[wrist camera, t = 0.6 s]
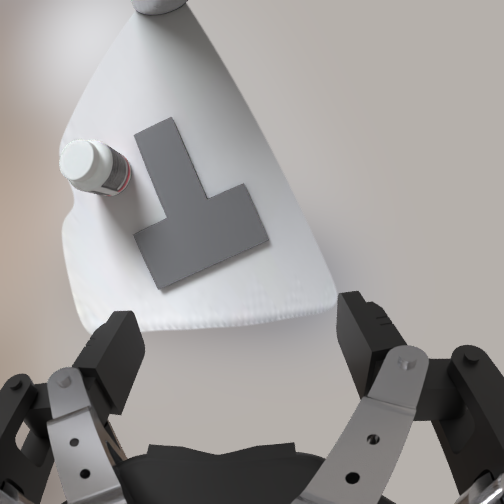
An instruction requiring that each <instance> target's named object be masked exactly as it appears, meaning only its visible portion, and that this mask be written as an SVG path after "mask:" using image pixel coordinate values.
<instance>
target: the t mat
mask: <svg viewBox="0 0 504 504" xmlns="http://www.w3.org/2000/svg"><path fill="white" fill-rule="evenodd" d="M134 137H135V140H136V142H137V145H138V148H139V150H140V153H141V155H142V158H143V161H144V163H145V166H146V168H147V171H148V173H149V176H150V178H151V181H152V183H153V185H154V188H155V190H156V193H157V195H158V198H159V200H160V202H161V205H162V207H163V209H164V212H165V214H166V216H167V218H166V219H164V220H162V221H160V222H158V223H156V224H154V225H152V226H150V227H148V228H146V229H144V230H142V231H140V232H138V233H136V234H134V237H135V240H136V242H137V244H138V247H139V249H140V251H141V254H142V256H143V258H144V260H145V262H146V265H147V267H148V269H149V271H150V273H151V275H152V278H153V280H154V282H155V284H156V286H157V288H158V290H159V289H161V288H163V287H165V286H168V285H170V284H172V283H174V282H176V281H179V280H181V279H183V278H185V277H187V276H190V275H192V274H194V273H196V272H199V271H201V270H203V269H205V268H207V267H210V266H212V265H214V264H216V263H219V262H221V261H223V260H225V259H227V258H230V257H232V256H234V255H236V254H239V253H241V252H243V251H245V250H248V249H250V248H252V247H254V246H256V245H259V244H261V243H263V242H265V241H268V240H269V239H268V237H267V234H266V232H265V230H264V227H263V225H262V223H261V221H260V218H259V216H258V214H257V212H256V209H255V207H254V205H253V203H252V200H251V198H250V196H249V194H248V191H247V189H246V187H245V185H244V183H243V184H241V185H239V186H236V187H234V188H232V189H230V190H227V191H225V192H223V193H220V194H218V195H216V196H214V197H211V198H209V199H207V197H206V195H205V193H204V191H203V188H202V186H201V184H200V181H199V179H198V177H197V174H196V172H195V170H194V168H193V165H192V163H191V161H190V158H189V156H188V154H187V151H186V149H185V147H184V144H183V142H182V140H181V137H180V135H179V133H178V130H177V128H176V126H175V123H174V121H173V119H172V117H170V118H168V119H166V120H164V121H162V122H160V123H157V124H155V125H153V126H151V127H149V128H147V129H145V130H143V131H141V132H139V133H137V134H135V135H134Z"/></svg>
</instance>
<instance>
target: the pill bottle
mask: <svg viewBox="0 0 504 504" xmlns="http://www.w3.org/2000/svg"><path fill="white" fill-rule="evenodd" d="M59 165H60V170H61V173H62V174H63V175H64V177H65V178H67V179H69V181H70V183H71V184H72V185H73V186H74V187H75V188H77V189H78V190H81V191H84V192H89V193H94V194H99V195H104V196H113V195H117V194H118V193H120V192H121V191H123V190H124V189H125V188H126V186H127V184H128V182H129V180H130V177H131V167H130V164H129V162H128V160H127V159H126V158H125V157H124V156H123V155H121V154H120V153H118V152H117V151H115V150H114V149H112V148H111V147H109V146H108V145H106V144H105V143H103V142H101V141H98V140H87V141H86V140H83V139H78V140H74V141H72V142H71V143H69V144H68V145H67V146H66V147H65V148H64V150H63V152H62V154H61V156H60V163H59Z"/></svg>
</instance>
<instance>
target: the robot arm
mask: <svg viewBox="0 0 504 504" xmlns="http://www.w3.org/2000/svg"><path fill="white" fill-rule="evenodd" d="M187 1H188V0H131V2H132V4H133V6H134V8H135V9H136V10H137V11H138V12H140V13H143V14H148V15H157V14H163V13H167V12H170V11H172V10H175V9H177V8H179V7H180V6H182V5H183V4H184V3H186V2H187ZM336 329H337V338H338V342H339V345H340V347H341V350H342V352H343V355H344V357H345V360H346V363H347V365H348V367H349V370H350V373H351V375H352V378H353V381H354V383H355V386H356V389H357V391H358V394H359V396H360V399H361V401H360V403H359V404H358V406H357V408H356V410H355V412H354V413H353V415H352V417H351V419H350V421H349V422H348V424H347V426H346V428H345V429H344V431H343V432H342V434H341V436H340V437H339V439H338V441H337V442H336V444H335V446H334V447H333V449H332V450H331V452H330V453H329V455H328V457H327V458H326V459H325V458H322V457H319V456H316V455H313V454H307V453H301V452H296V451H295V444H294V442H293V443H285V444H274V445H262V446H255V447H251V448H247V449H243V450H239V451H235V452H231V453H226V454H221V455H214V454H210V453H205V452H201V451H197V450H193V449H189V448H185V447H177V446H162V445H151V444H149V447H148V451H147V454H143V455H139V456H135V457H132V458H129V459H128V458H127V457H126V455H125V453H124V451H123V449H122V447H121V445H120V443H119V441H118V439H117V437H116V435H115V433H114V430H113V428H112V426H111V424H110V422H109V420H108V416H109V414H116V415H121V414H122V411H123V409H124V406H125V403H126V401H127V398H128V396H129V393H130V390H131V388H132V385H133V383H134V380H135V378H136V375H137V373H138V370H139V368H140V365H141V363H142V360H143V358H144V354H145V345H144V341H143V338H142V335H141V332H140V329H139V326H138V323H137V320H136V317H135V315H134V313H133V312H132V311H114V312H113V313H112V315H111V316H110V318H109V319H108V321H107V322H106V323H104V324H103V325H101V326H100V327H99V328H98V329H96V330H95V332H94V333H93V335H92V336H91V338H90V340H89V341H88V342H87V344H86V347H84V348H83V350H82V351H81V353H80V355H79V356H78V357H77V359H76V361H75V362H74V364H73V365H72V367H65V368H62V369H60V370H58V371H56V372H54V373H53V374H52V375H51V376H50V378H49V379H48V382H47V383H42V384H33V382H32V381H31V379H30V377H29V376H28V375H26V374H17V375H15V376H13V377H11V378H10V379H8V381H7V382H6V383H5V384H4V386H3V387H2V389H1V390H0V504H40V502H41V498H42V495H43V492H44V489H45V486H46V483H47V480H48V477H49V474H50V471H51V468H52V466H53V463H54V460H55V463H56V467H57V471H58V474H59V478H60V481H61V484H62V487H63V490H64V494H65V497H66V499H67V500H66V501H65V502H63V503H62V504H396V503H394V502H392V501H391V500H389V499H388V498H386V497H384V496H383V495H382V493H383V491H384V489H385V487H386V485H387V483H388V481H389V479H390V477H391V474H392V472H393V470H394V468H395V465H396V463H397V461H398V458H399V456H400V454H401V451H402V449H403V446H404V443H405V441H406V438H407V436H408V433H409V431H410V428H411V425H412V422H413V421H430V420H431V422H432V425H433V427H434V429H435V432H436V434H437V437H438V439H439V441H440V444H441V446H442V449H443V451H444V454H445V456H446V459H447V462H448V464H449V467H450V469H451V472H452V475H453V478H454V481H455V483H456V486H457V489H458V492H459V495H460V497H459V498H458V499H457V500H456V502H455V504H504V377H503V375H502V374H501V373H500V371H499V370H498V368H497V367H496V366H495V364H494V363H493V362H492V361H491V359H490V358H489V356H488V355H487V354H486V353H485V352H484V351H483V350H482V349H480V348H478V347H476V346H472V345H463V346H459V347H458V348H456V349H455V350H454V351H453V353H452V356H451V359H429V358H428V356H427V355H426V353H425V352H424V351H422V350H421V349H419V348H417V347H414V346H408V345H407V344H406V342H405V341H404V339H403V338H402V336H401V335H400V333H399V332H398V330H397V329H396V327H395V326H394V324H392V321H391V320H390V318H389V317H388V316H387V314H386V313H385V311H384V310H383V308H382V307H380V306H378V305H377V304H375V303H374V302H365V300H364V299H363V297H362V296H361V294H360V292H359V291H352V292H345V293H339V295H338V307H337V327H336ZM23 421H24V422H25V424H26V425H27V426H28V427H29V429H30V431H29V434H28V435H27V438H26V440H25V442H24V444H23V446H22V449H21V451H20V450H19V449H18V447H17V445H16V442H15V437H16V434H17V432H18V430H19V428H20V426H21V424H22V422H23Z"/></svg>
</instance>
